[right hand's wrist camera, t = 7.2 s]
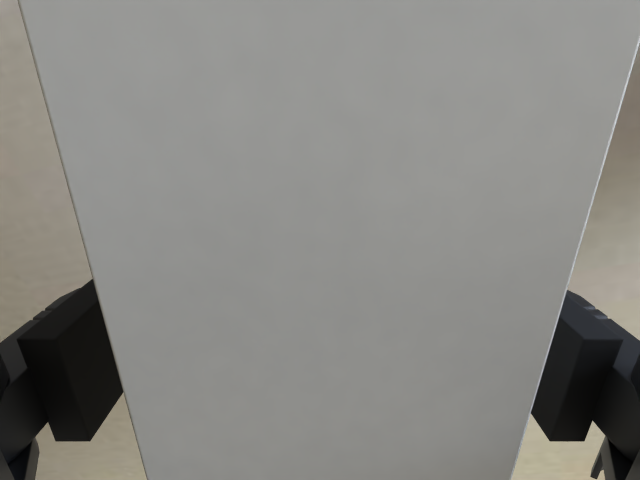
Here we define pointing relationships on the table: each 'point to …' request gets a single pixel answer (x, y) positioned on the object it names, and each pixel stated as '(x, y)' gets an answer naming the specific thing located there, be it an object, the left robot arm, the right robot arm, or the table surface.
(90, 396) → the right robot arm
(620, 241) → the table surface
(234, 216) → the box
